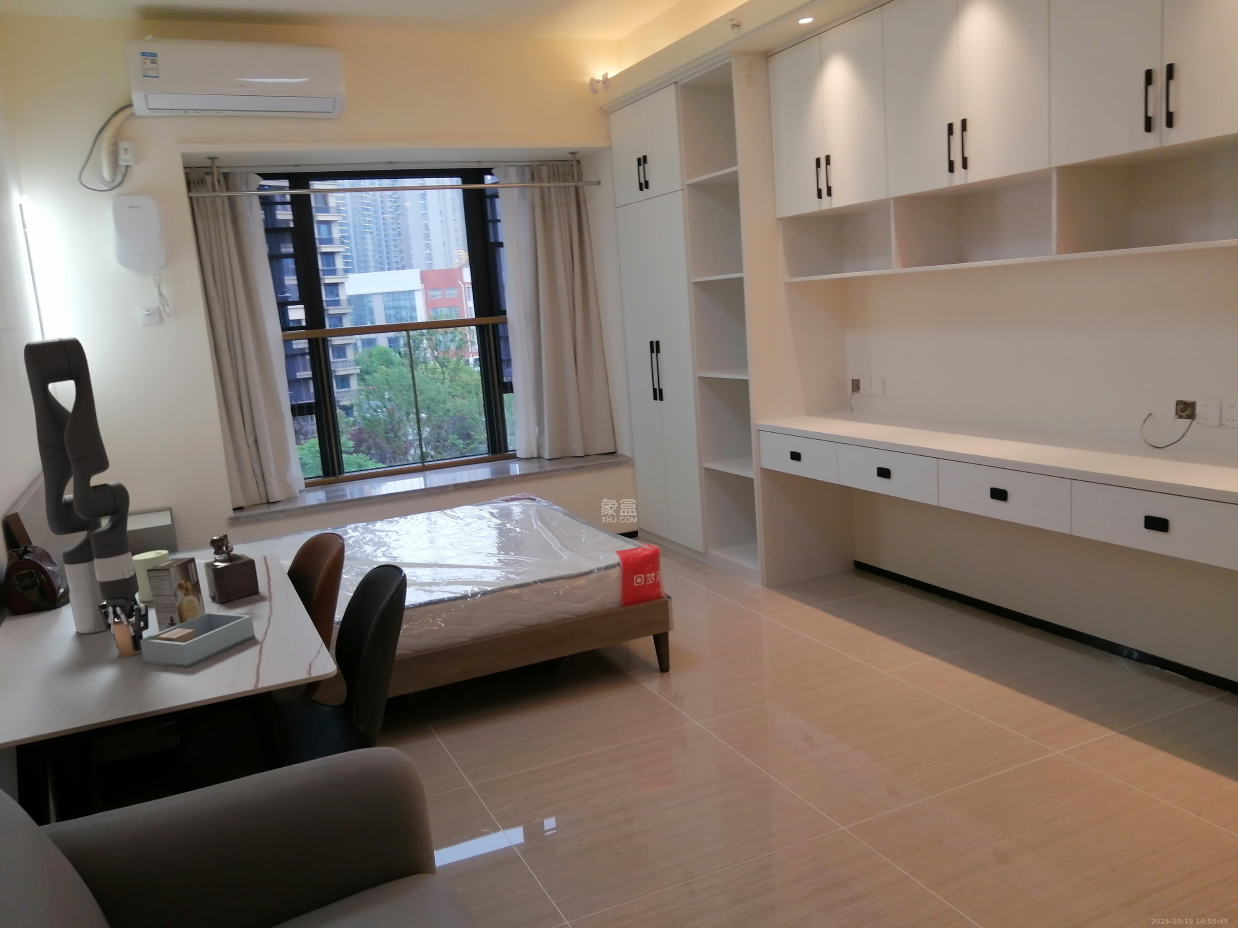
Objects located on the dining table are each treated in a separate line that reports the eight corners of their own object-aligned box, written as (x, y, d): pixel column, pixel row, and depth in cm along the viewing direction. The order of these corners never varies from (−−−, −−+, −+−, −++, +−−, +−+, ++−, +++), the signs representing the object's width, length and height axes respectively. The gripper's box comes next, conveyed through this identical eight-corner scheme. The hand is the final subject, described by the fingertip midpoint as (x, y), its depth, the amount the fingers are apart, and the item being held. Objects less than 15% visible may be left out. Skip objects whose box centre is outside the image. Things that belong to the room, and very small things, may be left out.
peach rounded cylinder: (114, 655, 203) (107, 625, 202) (134, 647, 208) (128, 617, 207) (128, 657, 201) (122, 626, 200) (149, 649, 206) (143, 619, 204)
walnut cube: (162, 658, 196) (158, 636, 195) (182, 650, 201) (178, 628, 200) (178, 660, 194) (174, 638, 193) (198, 651, 198) (194, 629, 197)
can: (165, 599, 246) (157, 555, 244) (131, 602, 246) (123, 559, 244) (182, 589, 255) (174, 546, 253) (149, 592, 255) (141, 550, 253)
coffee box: (184, 621, 224) (172, 557, 221) (207, 621, 222) (196, 556, 220) (158, 635, 215) (145, 568, 212) (182, 634, 213) (170, 567, 211)
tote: (144, 662, 197) (139, 639, 196) (212, 633, 212) (208, 612, 212) (188, 667, 191) (183, 644, 190) (255, 637, 206) (251, 615, 206)
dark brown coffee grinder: (206, 597, 244) (193, 531, 241) (249, 586, 250) (237, 521, 247) (222, 608, 231) (210, 539, 228) (267, 597, 238) (255, 529, 235)
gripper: (79, 578, 201) (94, 652, 204) (122, 581, 195) (137, 657, 198) (110, 568, 208) (125, 640, 211) (153, 570, 202) (167, 644, 204)
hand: (130, 648), depth 204 cm, fingers closed on peach rounded cylinder, 5 cm apart
